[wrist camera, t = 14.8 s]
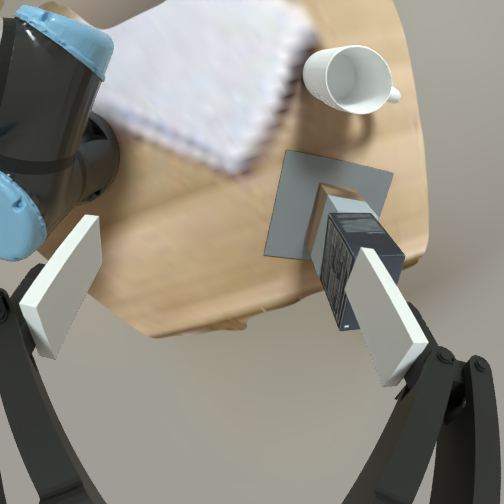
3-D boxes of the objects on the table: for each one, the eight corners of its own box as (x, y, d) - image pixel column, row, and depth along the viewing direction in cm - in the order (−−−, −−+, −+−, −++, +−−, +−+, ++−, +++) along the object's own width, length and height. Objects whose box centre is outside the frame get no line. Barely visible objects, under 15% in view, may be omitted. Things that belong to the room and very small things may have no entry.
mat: (263, 253, 55) (264, 254, 54) (286, 149, 45) (286, 150, 45) (360, 264, 57) (360, 265, 57) (392, 172, 47) (393, 173, 47)
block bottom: (304, 238, 53) (310, 255, 49) (319, 182, 48) (327, 194, 43) (337, 243, 54) (346, 259, 49) (354, 189, 48) (365, 201, 44)
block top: (310, 255, 49) (317, 275, 45) (327, 195, 44) (337, 210, 39) (346, 259, 49) (355, 278, 45) (365, 201, 44) (378, 217, 40)
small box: (361, 277, 45) (386, 328, 36) (318, 279, 45) (336, 333, 36) (374, 211, 40) (409, 255, 31) (326, 211, 39) (352, 258, 30)
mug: (371, 118, 43) (408, 137, 33) (295, 95, 41) (315, 104, 31) (385, 69, 39) (428, 75, 28) (309, 42, 37) (335, 34, 27)
